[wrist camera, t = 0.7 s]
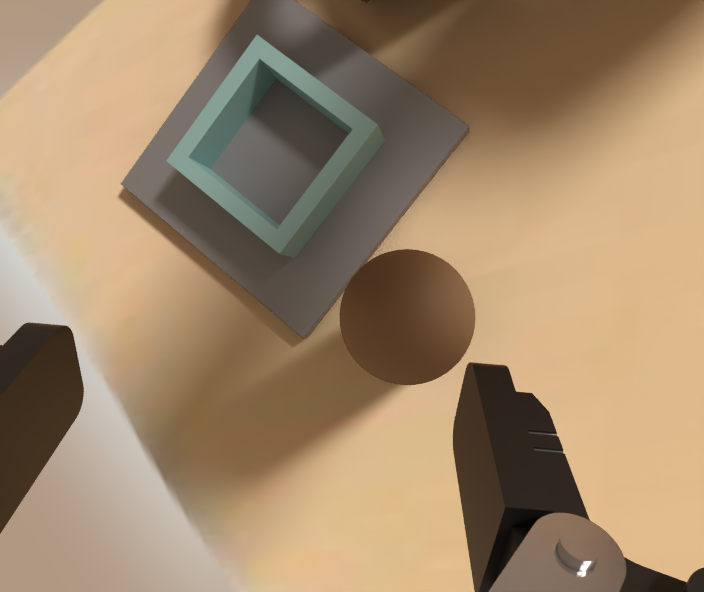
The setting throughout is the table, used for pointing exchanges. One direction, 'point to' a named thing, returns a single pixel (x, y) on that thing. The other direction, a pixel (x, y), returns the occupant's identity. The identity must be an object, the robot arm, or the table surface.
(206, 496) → the table surface
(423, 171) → the socket stand
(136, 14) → the table surface
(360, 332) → the walnut peg
